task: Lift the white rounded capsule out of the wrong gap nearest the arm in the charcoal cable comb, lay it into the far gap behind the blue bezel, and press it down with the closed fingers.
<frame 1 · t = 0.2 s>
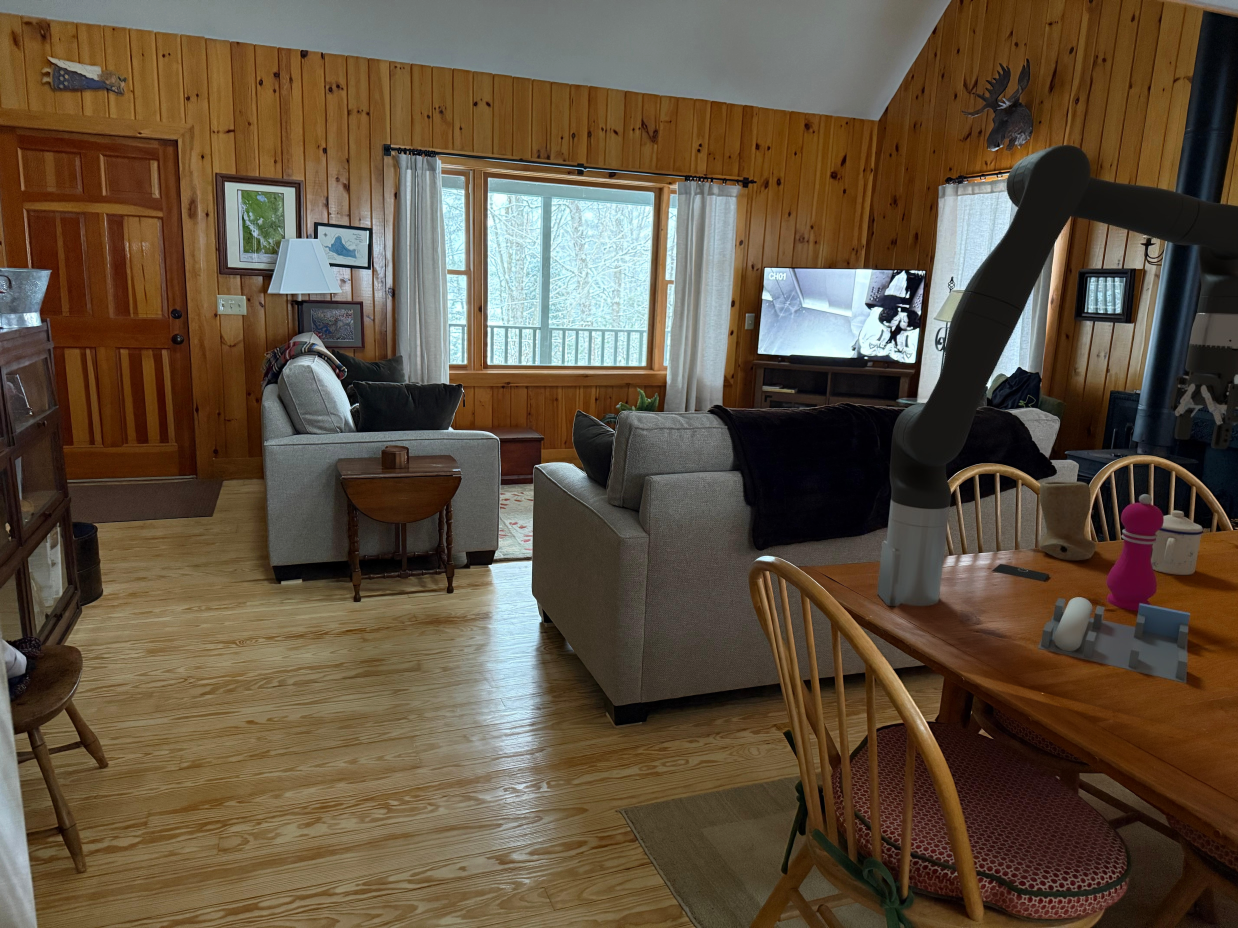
hand: (1199, 443, 135), 29 cm above the table, tool pointing down, fingers open, 8 cm apart
cell phone: (1011, 585, 153), on the table
pepper mill: (1127, 610, 141), on the table
sheepskin slipper boot: (1061, 553, 173), on the table
white rounded capsule: (1072, 633, 127), point 1 cm above the table, touching cable comb
teacup with lid: (1167, 571, 164), on the table
cable comb: (1113, 649, 124), on the table
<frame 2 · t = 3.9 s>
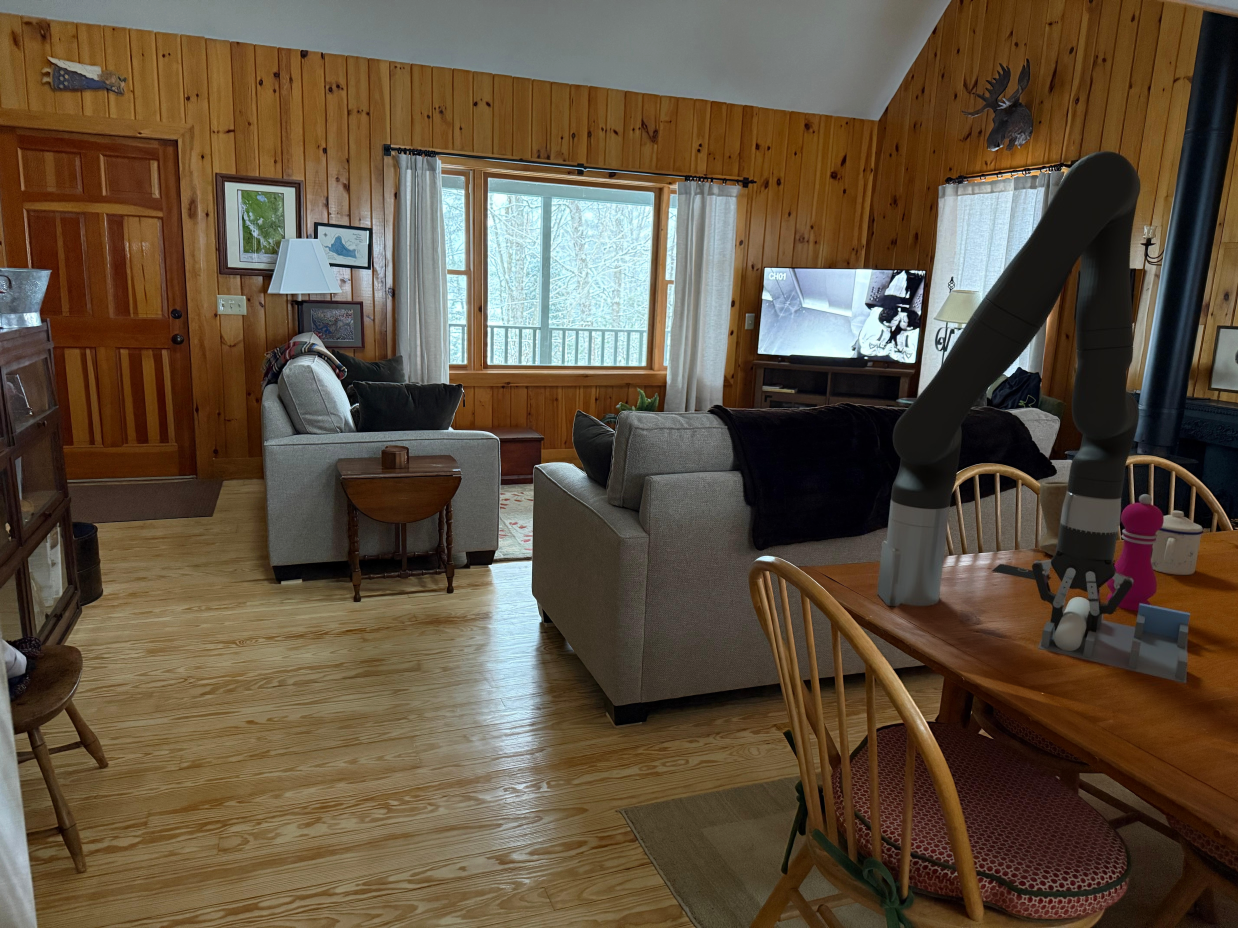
hand: (1072, 632, 127), 1 cm above the table, tool pointing down, fingers closed on white rounded capsule, 3 cm apart
white rounded capsule: (1072, 633, 127), point 1 cm above the table, touching cable comb, gripper
everything else where it was.
when the fingers open (2 cm above the table, at t = 9.2 s): white rounded capsule stays where it is, resting on cable comb.
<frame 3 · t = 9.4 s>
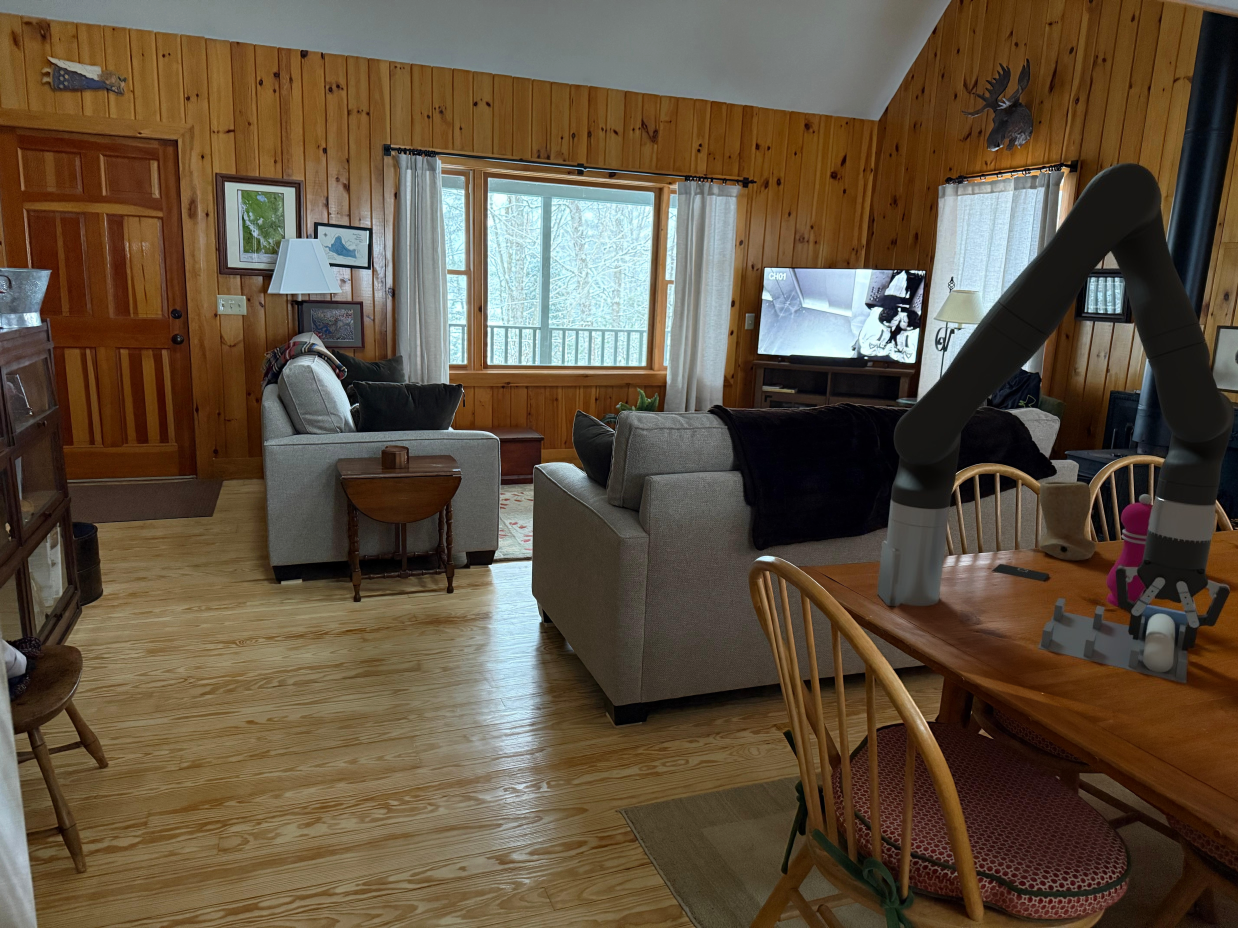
hand: (1159, 643, 120), 2 cm above the table, tool pointing down, fingers open, 5 cm apart
white rounded capsule: (1157, 652, 121), point 1 cm above the table, touching cable comb
everything else where it was.
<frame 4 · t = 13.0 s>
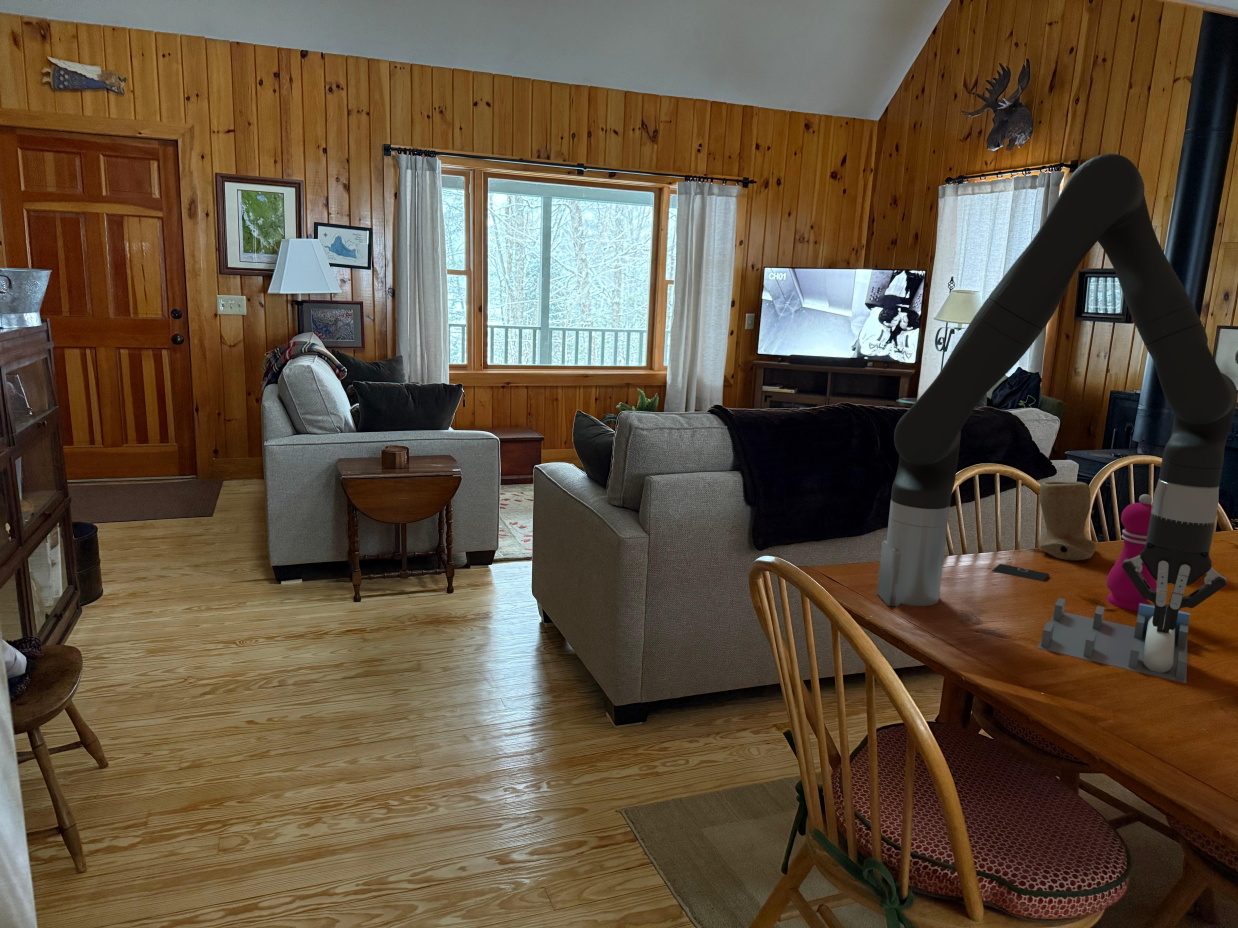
hand: (1163, 630, 120), 4 cm above the table, tool pointing down, fingers closed
white rounded capsule: (1157, 652, 121), point 1 cm above the table, touching cable comb, gripper
everything else where it was.
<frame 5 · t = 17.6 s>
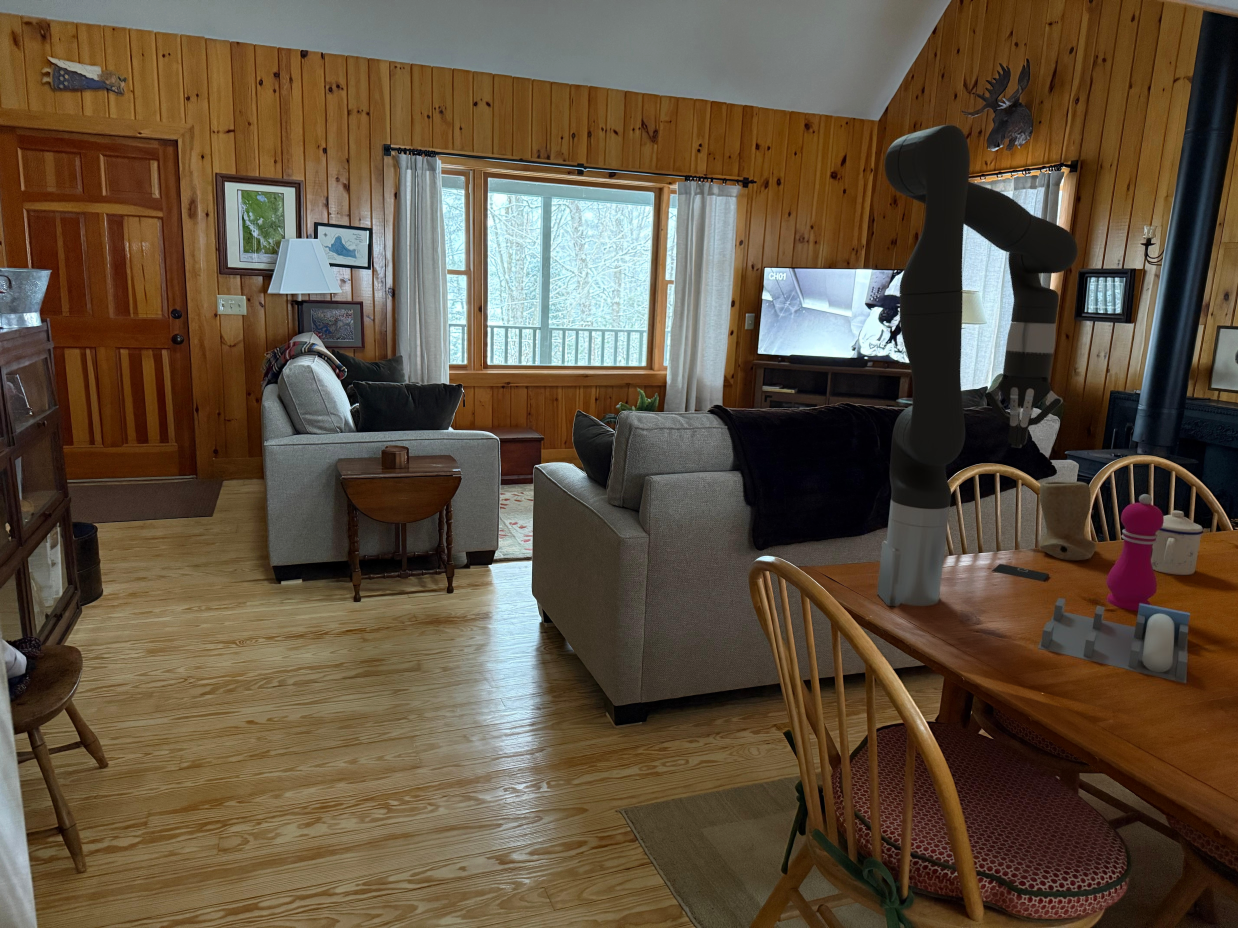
hand: (1016, 446, 149), 25 cm above the table, tool pointing down, fingers closed
white rounded capsule: (1157, 652, 121), point 1 cm above the table, touching cable comb
everything else where it was.
at the end: white rounded capsule 0.1 cm from the target spot on the cable comb, point 1.0 cm above the cable comb's base; white rounded capsule tilted 3°; the gripper is holding nothing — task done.
